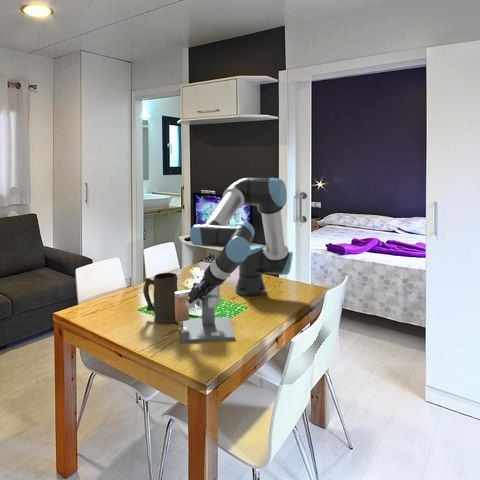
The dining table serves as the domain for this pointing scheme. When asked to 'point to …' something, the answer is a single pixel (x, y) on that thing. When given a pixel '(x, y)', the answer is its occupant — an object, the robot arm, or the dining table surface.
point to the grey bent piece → (182, 297)
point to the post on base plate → (206, 327)
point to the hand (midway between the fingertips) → (188, 305)
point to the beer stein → (162, 297)
